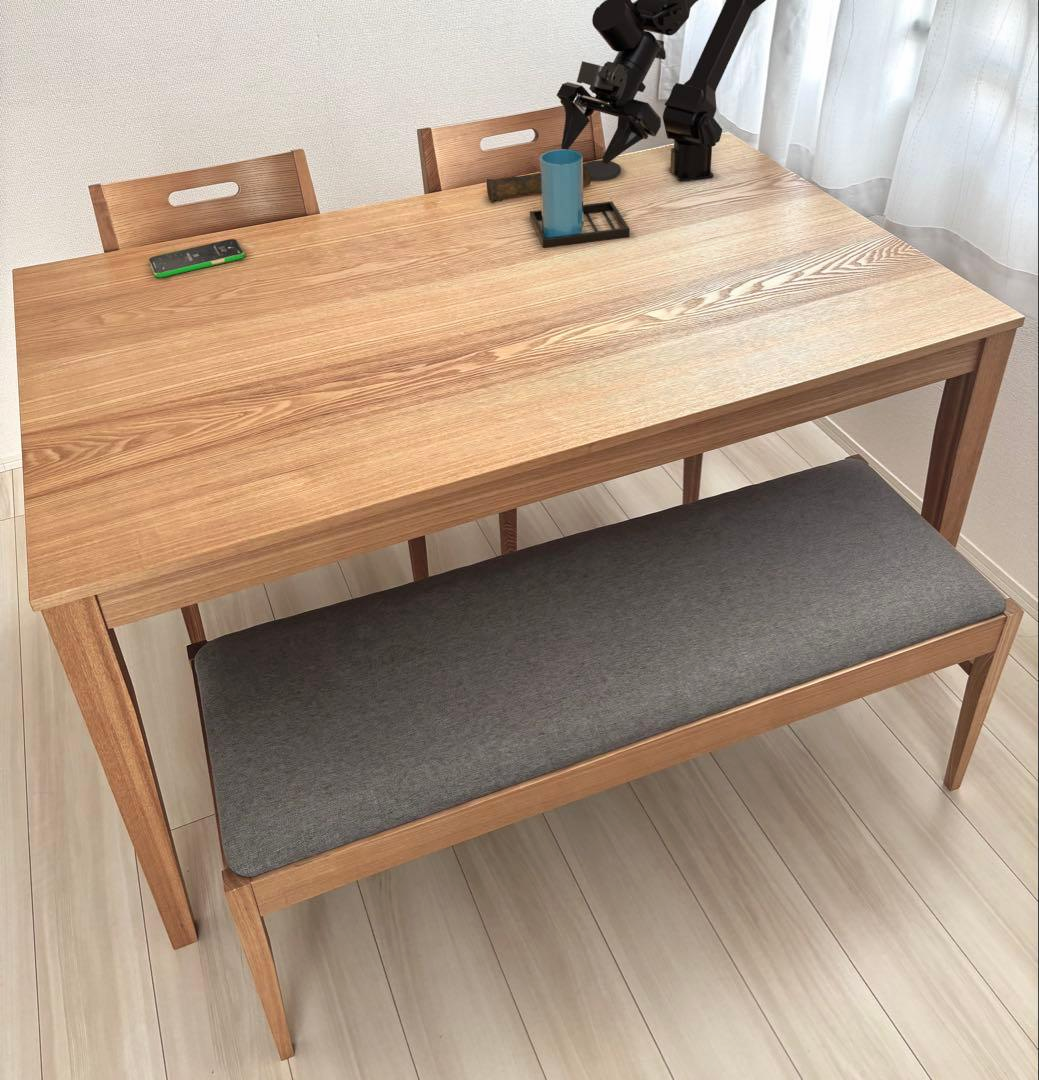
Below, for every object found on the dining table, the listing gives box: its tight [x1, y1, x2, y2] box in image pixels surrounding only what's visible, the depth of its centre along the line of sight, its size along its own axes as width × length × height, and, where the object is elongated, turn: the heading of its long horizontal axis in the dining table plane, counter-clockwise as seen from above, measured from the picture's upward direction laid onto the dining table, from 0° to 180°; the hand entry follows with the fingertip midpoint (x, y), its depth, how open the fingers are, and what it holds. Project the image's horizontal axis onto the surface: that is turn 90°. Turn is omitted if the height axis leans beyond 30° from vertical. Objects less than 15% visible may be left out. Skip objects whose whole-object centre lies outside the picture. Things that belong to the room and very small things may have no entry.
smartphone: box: [148, 238, 246, 279], centre depth 175 cm, size 8×1×15 cm
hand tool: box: [486, 163, 591, 203], centre depth 188 cm, size 19×4×5 cm, turn 101°
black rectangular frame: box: [529, 201, 630, 249], centre depth 177 cm, size 15×12×2 cm
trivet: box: [583, 159, 622, 182], centre depth 195 cm, size 8×8×1 cm
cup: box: [538, 148, 585, 238], centre depth 172 cm, size 7×7×13 cm
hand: (583, 156), depth 171 cm, fingers open, 9 cm apart
